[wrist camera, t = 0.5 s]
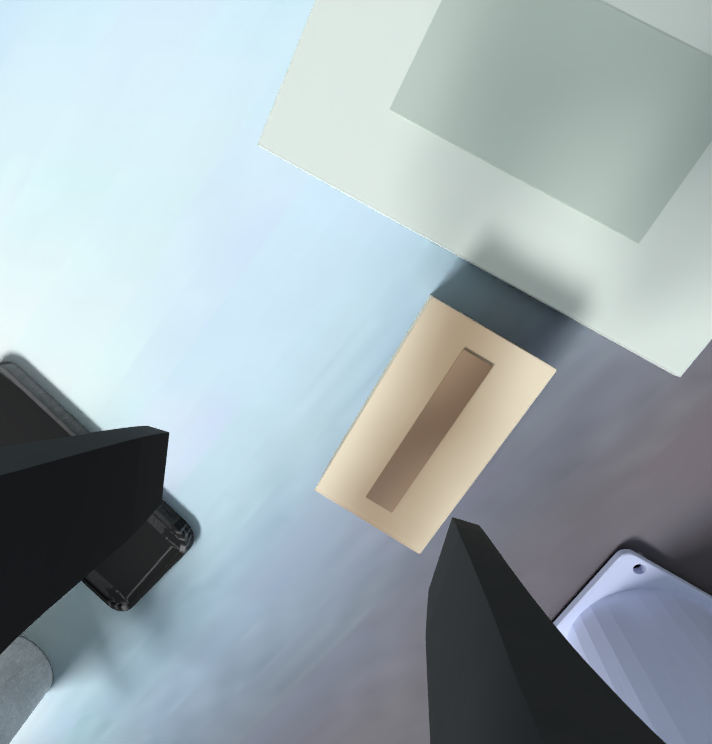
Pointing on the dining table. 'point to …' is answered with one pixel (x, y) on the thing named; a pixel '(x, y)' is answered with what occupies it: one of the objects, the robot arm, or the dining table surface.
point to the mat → (526, 146)
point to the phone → (146, 546)
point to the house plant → (21, 685)
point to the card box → (432, 424)
